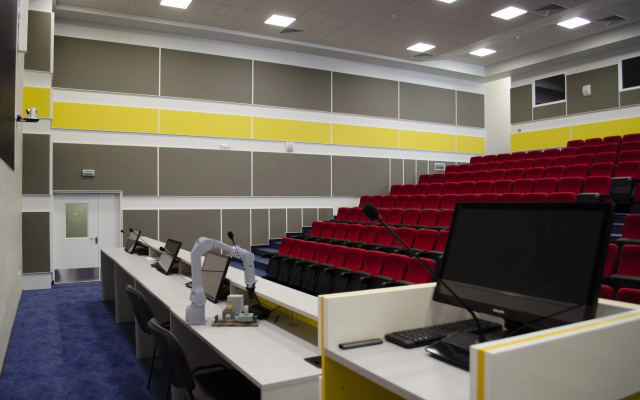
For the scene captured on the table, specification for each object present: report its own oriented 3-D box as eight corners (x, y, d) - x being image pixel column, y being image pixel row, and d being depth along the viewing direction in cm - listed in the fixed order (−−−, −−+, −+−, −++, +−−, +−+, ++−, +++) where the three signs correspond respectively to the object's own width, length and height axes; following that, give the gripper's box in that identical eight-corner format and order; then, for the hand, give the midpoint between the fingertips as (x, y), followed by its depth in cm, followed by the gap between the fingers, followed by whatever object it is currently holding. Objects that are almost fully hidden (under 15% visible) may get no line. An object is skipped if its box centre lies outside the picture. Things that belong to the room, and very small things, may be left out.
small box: (243, 313, 256) (243, 294, 256) (240, 315, 251) (241, 296, 251) (229, 312, 257) (230, 294, 257) (226, 315, 252) (227, 296, 252)
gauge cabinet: (222, 321, 239) (222, 311, 239) (223, 317, 246) (224, 308, 246) (233, 321, 240) (233, 311, 240) (235, 317, 246) (235, 308, 246)
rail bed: (211, 326, 229) (211, 318, 229) (215, 321, 239) (215, 313, 239) (257, 326, 230) (257, 318, 230) (259, 321, 240) (259, 313, 240)
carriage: (238, 321, 231) (238, 307, 231) (239, 317, 238) (240, 304, 238) (252, 321, 231) (252, 307, 231) (253, 317, 238) (253, 304, 238)
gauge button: (225, 310, 241) (225, 306, 241) (226, 308, 244) (226, 304, 244) (231, 310, 241) (231, 306, 241) (232, 308, 245) (232, 305, 245)
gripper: (256, 275, 243) (259, 299, 244) (256, 269, 258) (259, 293, 258) (243, 276, 242) (245, 301, 243) (244, 271, 257) (246, 294, 258)
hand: (251, 297), depth 251 cm, fingers open, 7 cm apart
